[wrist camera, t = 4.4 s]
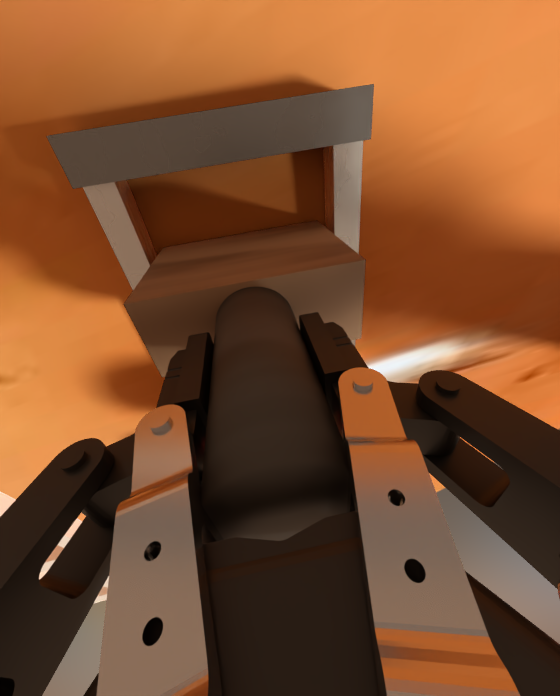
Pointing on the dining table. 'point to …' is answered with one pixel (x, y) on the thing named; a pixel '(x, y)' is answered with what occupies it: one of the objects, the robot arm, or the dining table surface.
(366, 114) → the frame
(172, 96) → the dining table surface
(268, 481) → the sliding jaw
